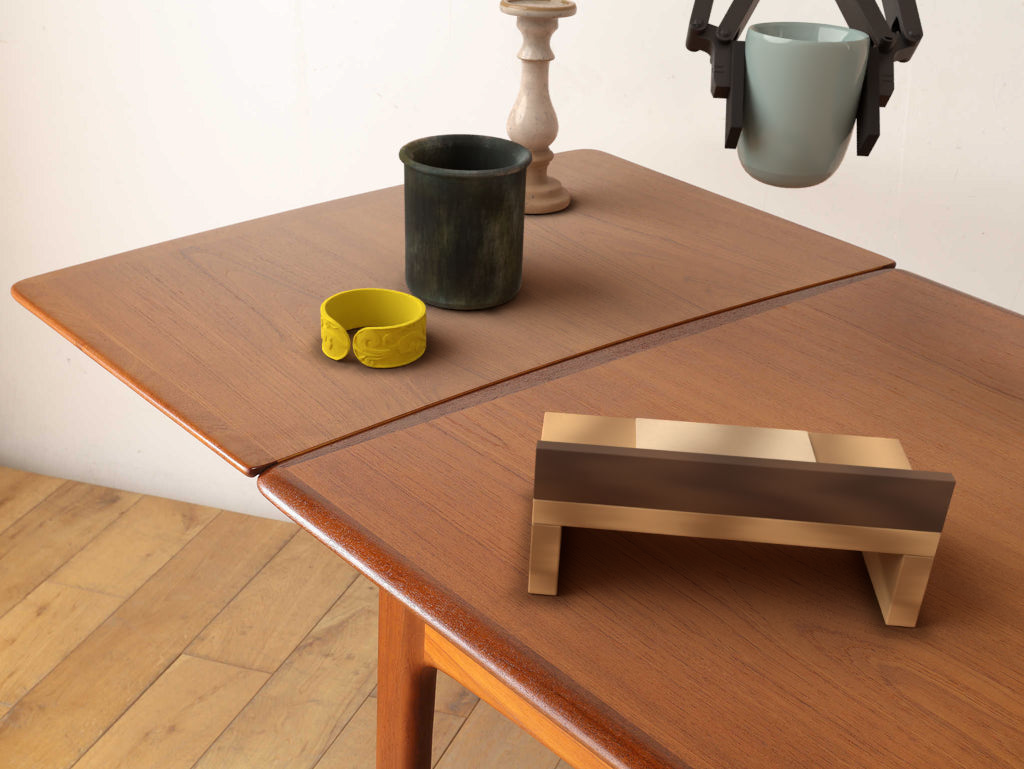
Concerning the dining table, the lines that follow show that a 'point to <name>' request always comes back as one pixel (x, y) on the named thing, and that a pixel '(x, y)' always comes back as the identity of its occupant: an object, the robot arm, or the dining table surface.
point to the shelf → (741, 494)
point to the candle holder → (537, 99)
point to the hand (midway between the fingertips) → (800, 141)
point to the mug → (464, 219)
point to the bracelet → (374, 345)
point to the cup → (800, 100)
